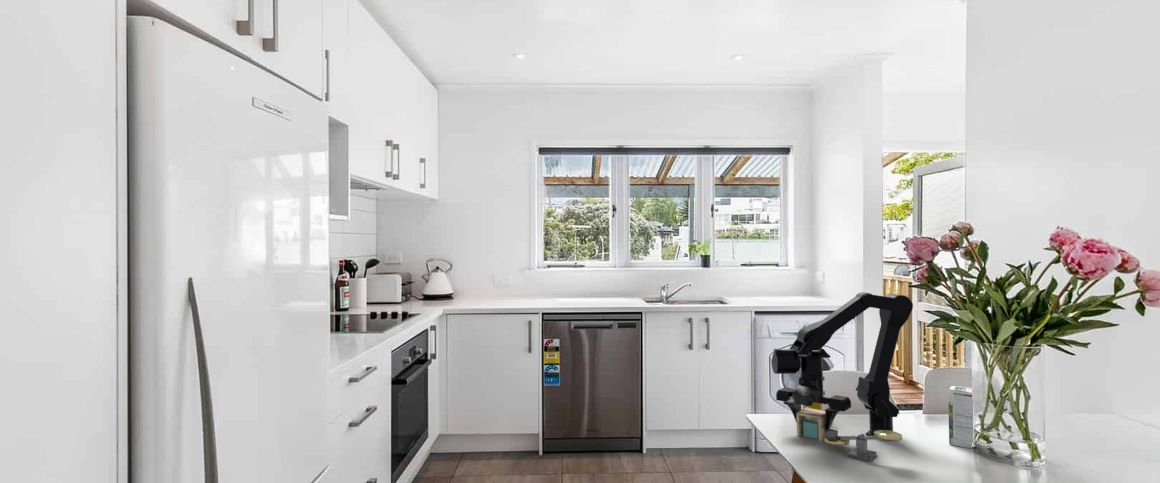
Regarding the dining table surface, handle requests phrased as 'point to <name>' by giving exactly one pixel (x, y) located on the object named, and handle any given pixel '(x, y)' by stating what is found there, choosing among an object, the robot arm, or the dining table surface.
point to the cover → (812, 413)
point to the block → (810, 428)
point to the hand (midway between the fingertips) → (813, 429)
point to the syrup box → (960, 416)
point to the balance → (860, 442)
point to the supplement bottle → (814, 406)
